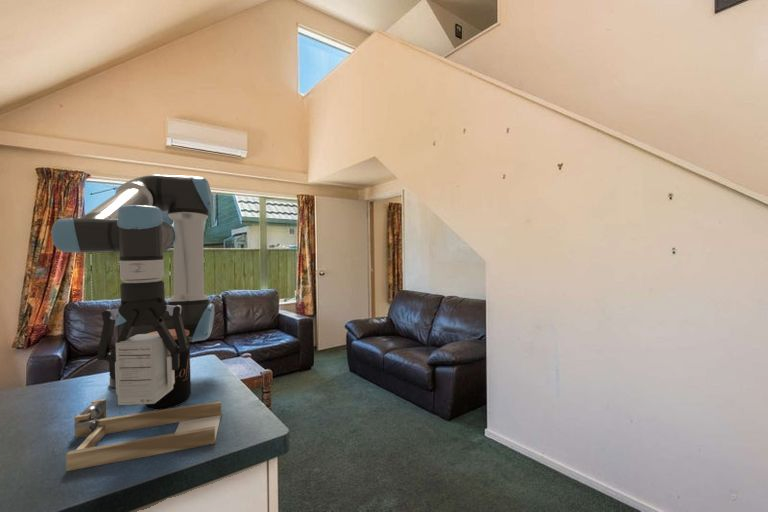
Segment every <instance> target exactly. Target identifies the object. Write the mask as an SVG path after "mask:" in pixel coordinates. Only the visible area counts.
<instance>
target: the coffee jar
mask: <svg viewBox="0 0 768 512" xmlns="http://www.w3.org/2000/svg"><path fill="white" fill-rule="evenodd" d="M169 332H170V334H171V335H172V337H173V339H174V340H175V342H176V344H177V345H178V346H179V343H178V339H177V335H176V331H175V329H169ZM185 333H186V336H188V335H189V330H186V329H185ZM147 334H158V332H157V331H155V332H151V333H147ZM187 340H188V344H189V347H188V348H187V350H186V351H184V352H181V353H179V361H180V366H179V368H178V369H177V370H174V373H175V383H174V385H173V389H172V390H171V391H170V392H169V393H167V394H166V395H165V396H164V397H162V398H161V399H160V400H159V401H157V402H156V403H154V404H143V405H144V406H145V407H146V408H147V409H148V410H153V409H159V410H163V409H165V408H166V409H170V408H169V407H171V408H174V407H177V406H179V404H180V405H181V403H182V404H183V402H184V403H185V402H187V401H188V400H189V397H190V396H191V394H192V390H191V388H192V386H191V350H190V349H191V348H190V347H191V346H190V345H191V343H190V342H191V341H189V339H188V338H187ZM176 405H177V406H176ZM173 406H174V407H173Z"/></svg>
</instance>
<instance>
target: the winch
mask: <svg viewBox="0 0 768 512" xmlns="http://www.w3.org/2000/svg"><path fill="white" fill-rule="evenodd" d="M103 418H108V417H107V399H106V398H101V399H93V401H91V403H90V404H89V406H88V407H86V408H85V409H84V410H83V411H82V412H81V413H79V414H77V415H76V416H75V417H74V427H73V428H74V438H75V439H79V438H85V437H88V436H89V435H90V434H91V433H92V430H93V429H96V428H95V427H97V426H98V424H99V420H100V419H103Z"/></svg>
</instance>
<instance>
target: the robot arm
mask: <svg viewBox="0 0 768 512" xmlns="http://www.w3.org/2000/svg"><path fill="white" fill-rule="evenodd" d="M212 195H213V194H212V191H211V186H210V184H209V181H208V179H206V178H205V177H203V176H194V175H174V174H173V175H172V174H171V175H170V174H169V175H168V174H147V175H143V176H139V177H136V178H134V179H130V180H129V181H128V180H127V181H126V182H124V183H123V184H121V185H119V186H118V188H117V189H116V190H115V194H113V195H112V196H111V197H109V198H108V199H106V200H105V201H103V202H102V203H101V204H99V205H97V206H96V207H94V208H93V209H92V210H90V211H89V212H87V213H86V214H84V215H83V216H82V217H80V218H77V217H75V218H74V217H69V218H68V217H67V218H66V217H65V218H59V219H56V220H55V221H54V223H53V225H52V228H51V240H52V243H53V245H54V247H55V248H56V249H57V250H58V251H60V252H62V253H78V254H82V253H83V254H84V253H85V254H86V253H116V252H117V253H119V261H118V262H119V277H120V280H121V281H123V282H121V284H120V305H119V307H118V308H113V309H112V308H109V309H105V310H104V311H102V313H101V317H102V322H103V325H102V329H101V334H100V335H101V336H100V340H99V346H98V350H97V354H96V355H97V356H96V359H97V360H98V361H106V362H108V365H109V367H108V369H109V387H110V388H112V389H115V395H117V372H116V346H115V345H114V347H112V350H111V346H112V341H113V336H114V331H115V344H116V343H118V342H121V341H125V340H127V339H128V338H130V337H133V336H135V335H137V334H147V333H151V332H155V331H157V332H158V334H159V335H160V337H161V339H162V340H163V342H164V344H165V345H166V347H167V349H168V350H169V352H170V354H169V355H168V356H167V377H168V388H169V387H172V386H173V385H174V383H175V373H174V370H177V369H178V368H179V366H180V361H179V353H181V352H184V351H186V350H187V348H188V347H189V344H188V340H187V338H188V339H189V341H190V342H192V343H194V342H199V341H206V340H207V339H209V337H210V336H211V334H212V331H213V327H214V321H215V320H214V319H215V304H214V303H210V297H208V296H207V295H206V294H205V278H204V277H205V276H204V275H205V274H204V273H205V272H204V271H205V270H204V262H205V259H204V256H205V255H204V222H205V221H206V220H208V218H209V213H213V211H214V202H213V201H214V199H213V196H212ZM162 212H167V216H168V217H169V218H170V219H171V220H172V221H173V225H172V224H171V223H170V222H168V221H166V220H164V219H163V213H162ZM171 248H173V295H172V296H171V297H170V298H169V299H168V300H167V301H166V299H165V297H166V295H165V282H164V280H162V279H163V278H165V266H164V262H165V261H164V252H165V251H167V250H170V249H171ZM169 329H175V331H176V335H177V339H178V343H179V346H178V345H177V344H176V342H175V340H174V339H173V337H172V335H171V334H170V332H169ZM185 329H186V330H189V335H188V336H186V333H185Z"/></svg>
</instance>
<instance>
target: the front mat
mask: <svg viewBox="0 0 768 512" xmlns="http://www.w3.org/2000/svg"><path fill="white" fill-rule="evenodd" d="M221 416H222V414H221V415H218V416H212V417H206V418H199V419H193V420H187V421H181V422H178V425H177V428H176V430H175V432H174V433H178V432H184V431H190V430H196V429H202V428H208V427H213V426H215V440H216V439H217V435H218V430H219V425H220V421H221Z"/></svg>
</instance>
